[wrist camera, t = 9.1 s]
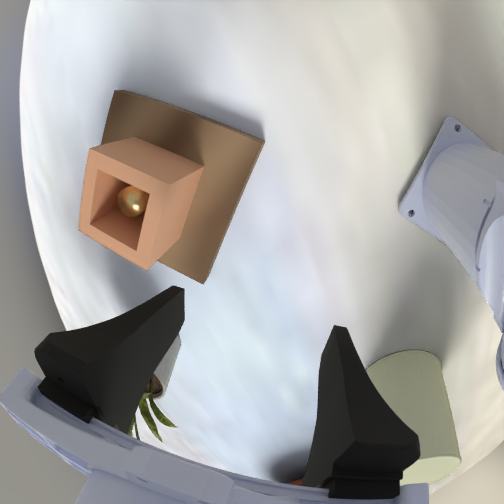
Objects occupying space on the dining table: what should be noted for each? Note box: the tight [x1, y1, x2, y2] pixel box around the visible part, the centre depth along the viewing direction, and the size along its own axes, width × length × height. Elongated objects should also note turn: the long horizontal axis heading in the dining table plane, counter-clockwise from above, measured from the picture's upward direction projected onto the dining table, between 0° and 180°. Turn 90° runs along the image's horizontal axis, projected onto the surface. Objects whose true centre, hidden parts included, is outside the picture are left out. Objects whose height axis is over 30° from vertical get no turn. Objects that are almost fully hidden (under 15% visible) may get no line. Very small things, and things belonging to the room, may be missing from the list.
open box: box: [78, 137, 205, 270], centre depth 18 cm, size 6×6×5 cm
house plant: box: [127, 335, 181, 442], centre depth 23 cm, size 14×14×16 cm
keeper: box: [101, 90, 265, 284], centre depth 20 cm, size 12×12×5 cm
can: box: [366, 350, 461, 486], centre depth 20 cm, size 9×9×12 cm
